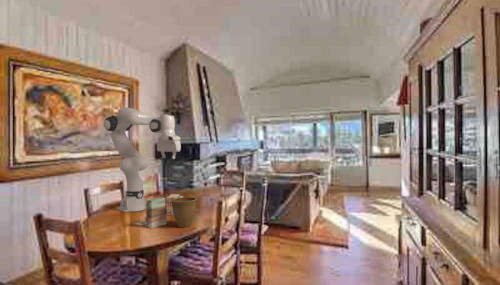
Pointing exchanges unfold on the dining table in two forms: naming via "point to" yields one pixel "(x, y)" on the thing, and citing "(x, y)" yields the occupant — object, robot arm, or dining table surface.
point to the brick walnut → (155, 212)
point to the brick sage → (155, 203)
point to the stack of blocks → (169, 205)
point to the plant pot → (184, 210)
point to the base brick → (155, 221)
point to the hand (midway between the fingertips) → (168, 158)
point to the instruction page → (140, 223)
